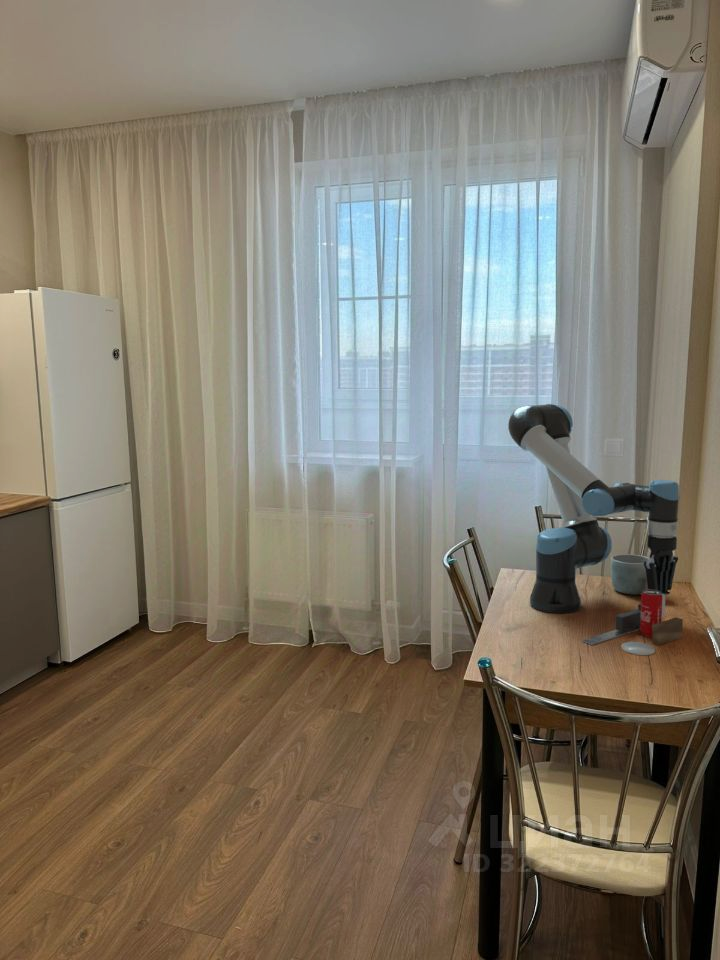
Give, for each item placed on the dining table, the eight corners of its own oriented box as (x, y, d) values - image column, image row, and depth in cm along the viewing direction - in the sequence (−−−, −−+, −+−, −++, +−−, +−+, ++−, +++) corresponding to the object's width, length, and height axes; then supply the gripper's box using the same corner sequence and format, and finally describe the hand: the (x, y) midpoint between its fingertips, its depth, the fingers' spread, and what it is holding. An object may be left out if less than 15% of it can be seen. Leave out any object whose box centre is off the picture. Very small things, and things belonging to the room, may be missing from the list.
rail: (581, 641, 176) (581, 640, 176) (641, 622, 189) (641, 621, 189) (591, 645, 173) (591, 644, 173) (651, 625, 186) (651, 624, 186)
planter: (603, 586, 224) (604, 555, 222) (638, 584, 225) (639, 553, 224) (621, 597, 212) (622, 564, 210) (658, 595, 213) (659, 562, 211)
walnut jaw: (652, 643, 174) (652, 624, 173) (675, 635, 179) (675, 617, 179) (659, 645, 172) (659, 627, 172) (682, 637, 178) (682, 619, 177)
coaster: (614, 647, 172) (614, 646, 171) (634, 641, 176) (634, 639, 176) (642, 657, 165) (642, 656, 165) (661, 650, 169) (662, 649, 169)
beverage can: (662, 638, 177) (664, 595, 175) (642, 637, 178) (643, 594, 176) (658, 631, 182) (660, 589, 180) (638, 630, 183) (639, 588, 181)
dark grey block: (614, 629, 183) (615, 611, 182) (642, 620, 189) (642, 602, 188) (622, 632, 180) (623, 613, 180) (650, 623, 187) (651, 605, 186)
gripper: (660, 540, 181) (656, 623, 184) (688, 534, 188) (684, 614, 191) (636, 535, 187) (633, 616, 190) (664, 530, 194) (660, 607, 197)
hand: (658, 615), depth 191 cm, fingers closed
